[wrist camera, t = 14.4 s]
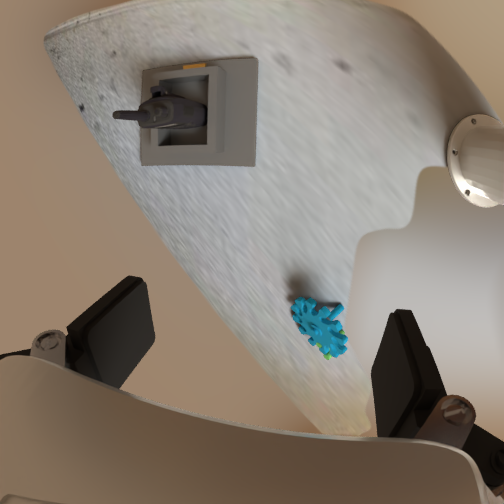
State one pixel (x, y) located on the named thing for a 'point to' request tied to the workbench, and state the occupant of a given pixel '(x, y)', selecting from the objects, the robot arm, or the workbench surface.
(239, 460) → the robot arm
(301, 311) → the blue branched piece
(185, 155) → the charging cradle
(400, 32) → the workbench surface
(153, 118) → the two-way radio
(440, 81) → the workbench surface
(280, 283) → the workbench surface
